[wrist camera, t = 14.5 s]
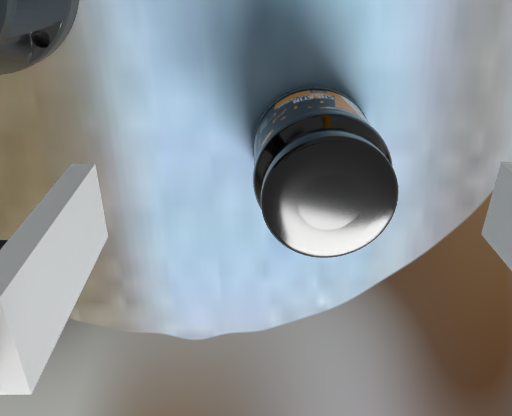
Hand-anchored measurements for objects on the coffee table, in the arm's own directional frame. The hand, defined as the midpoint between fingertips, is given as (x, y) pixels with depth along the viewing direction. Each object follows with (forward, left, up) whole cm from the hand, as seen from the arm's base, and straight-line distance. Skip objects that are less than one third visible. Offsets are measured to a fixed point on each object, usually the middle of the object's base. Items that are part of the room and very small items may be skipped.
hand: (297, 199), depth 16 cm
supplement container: (+4, -8, -27) cm, 28 cm away
